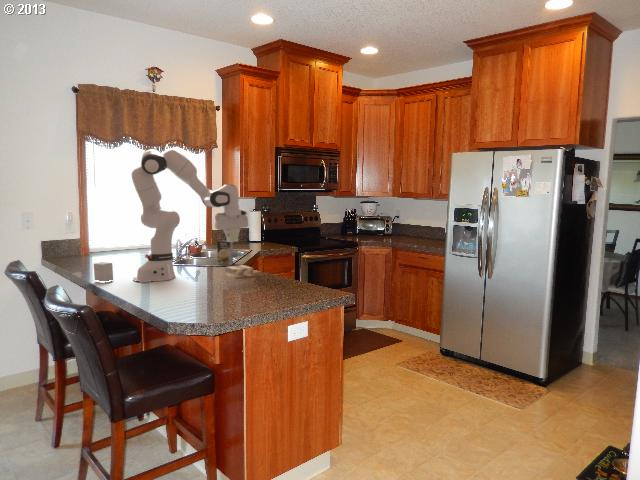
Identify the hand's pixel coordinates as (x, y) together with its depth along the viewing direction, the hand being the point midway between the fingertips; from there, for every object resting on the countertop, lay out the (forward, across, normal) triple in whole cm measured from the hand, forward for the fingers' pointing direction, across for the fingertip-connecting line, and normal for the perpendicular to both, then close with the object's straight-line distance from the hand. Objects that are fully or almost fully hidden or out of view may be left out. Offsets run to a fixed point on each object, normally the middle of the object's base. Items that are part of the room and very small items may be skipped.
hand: (232, 236), depth 274 cm
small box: (+22, -66, +24) cm, 73 cm away
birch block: (+23, +1, -4) cm, 24 cm away
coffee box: (+23, +14, +36) cm, 45 cm away
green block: (+3, 0, 0) cm, 3 cm away
